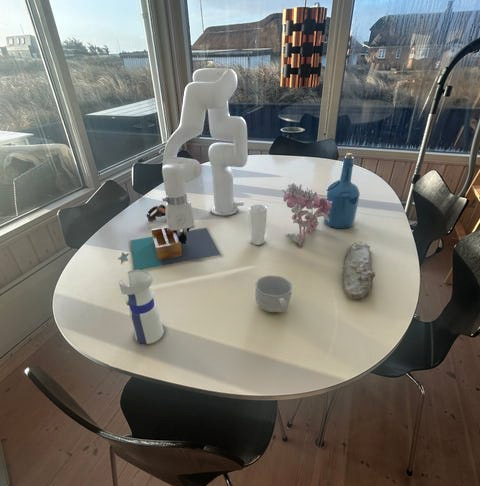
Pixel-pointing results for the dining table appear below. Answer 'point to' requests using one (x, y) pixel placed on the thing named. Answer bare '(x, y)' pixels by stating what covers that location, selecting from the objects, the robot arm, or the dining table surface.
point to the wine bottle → (343, 197)
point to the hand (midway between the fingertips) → (183, 242)
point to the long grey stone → (358, 271)
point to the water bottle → (142, 305)
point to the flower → (305, 199)
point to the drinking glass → (257, 223)
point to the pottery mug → (158, 213)
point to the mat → (194, 248)
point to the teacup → (273, 293)
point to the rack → (166, 243)
